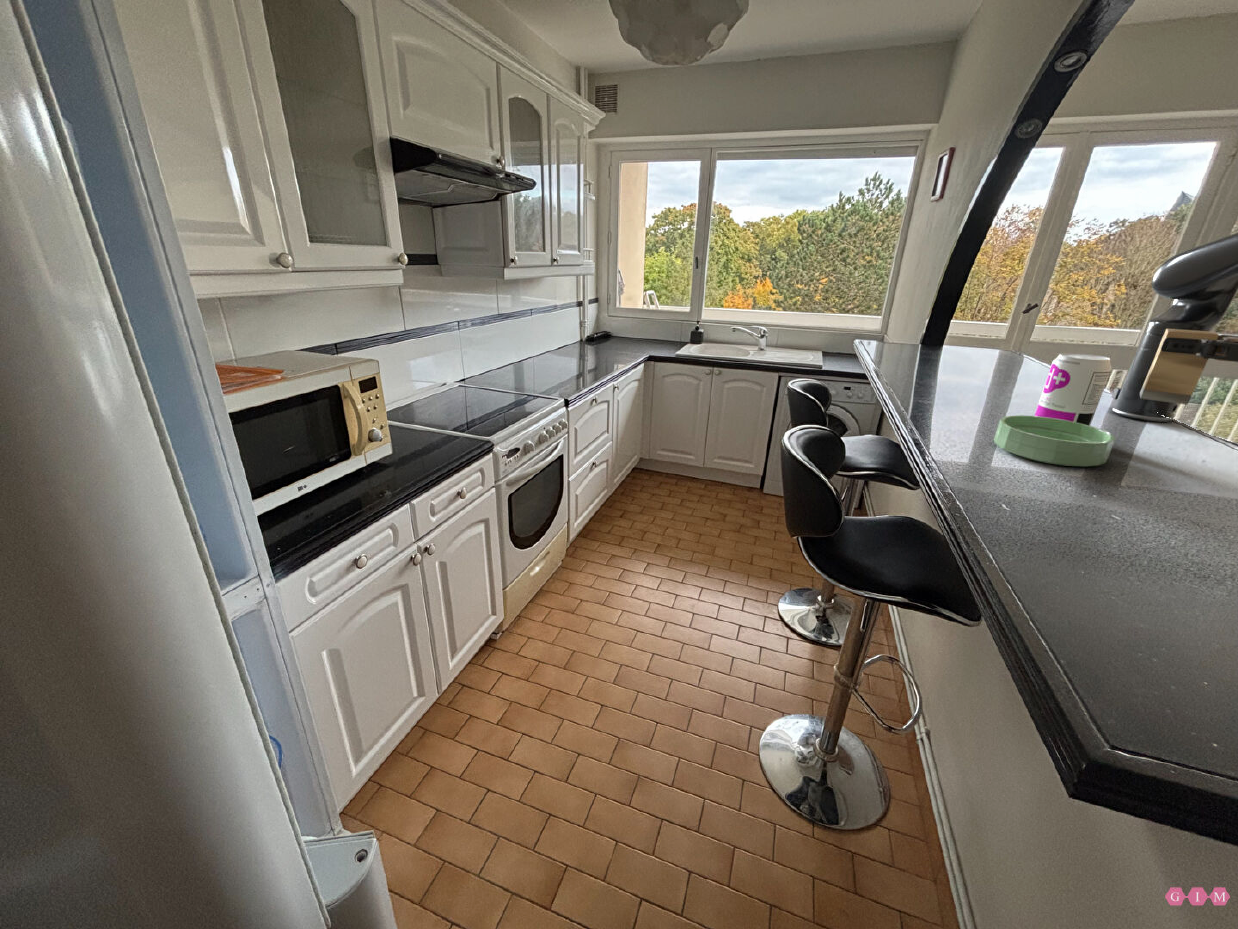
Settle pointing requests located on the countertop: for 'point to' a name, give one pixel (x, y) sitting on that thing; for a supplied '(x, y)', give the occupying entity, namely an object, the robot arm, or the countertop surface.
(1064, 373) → the supplement can
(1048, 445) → the bowl
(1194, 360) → the light brown wooden block
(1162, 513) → the countertop surface
